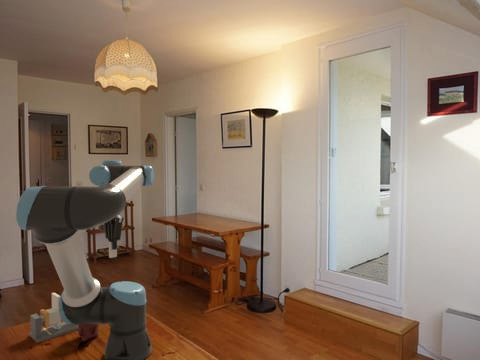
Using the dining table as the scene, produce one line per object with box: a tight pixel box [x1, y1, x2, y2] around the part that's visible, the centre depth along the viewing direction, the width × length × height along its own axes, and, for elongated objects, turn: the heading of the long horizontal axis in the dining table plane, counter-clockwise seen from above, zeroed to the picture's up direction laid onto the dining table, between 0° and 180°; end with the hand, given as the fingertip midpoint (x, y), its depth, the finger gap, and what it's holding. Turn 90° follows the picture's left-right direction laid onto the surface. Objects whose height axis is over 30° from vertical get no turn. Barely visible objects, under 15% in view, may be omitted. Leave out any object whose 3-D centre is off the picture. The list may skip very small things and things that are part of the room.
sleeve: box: [45, 292, 62, 329], centre depth 135 cm, size 4×6×12 cm, turn 48°
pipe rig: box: [29, 313, 79, 343], centre depth 137 cm, size 17×8×8 cm, turn 137°
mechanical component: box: [77, 324, 100, 342], centre depth 132 cm, size 12×10×10 cm
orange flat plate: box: [39, 308, 50, 328], centre depth 133 cm, size 1×5×5 cm, turn 47°
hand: (113, 256), depth 145 cm, fingers closed
